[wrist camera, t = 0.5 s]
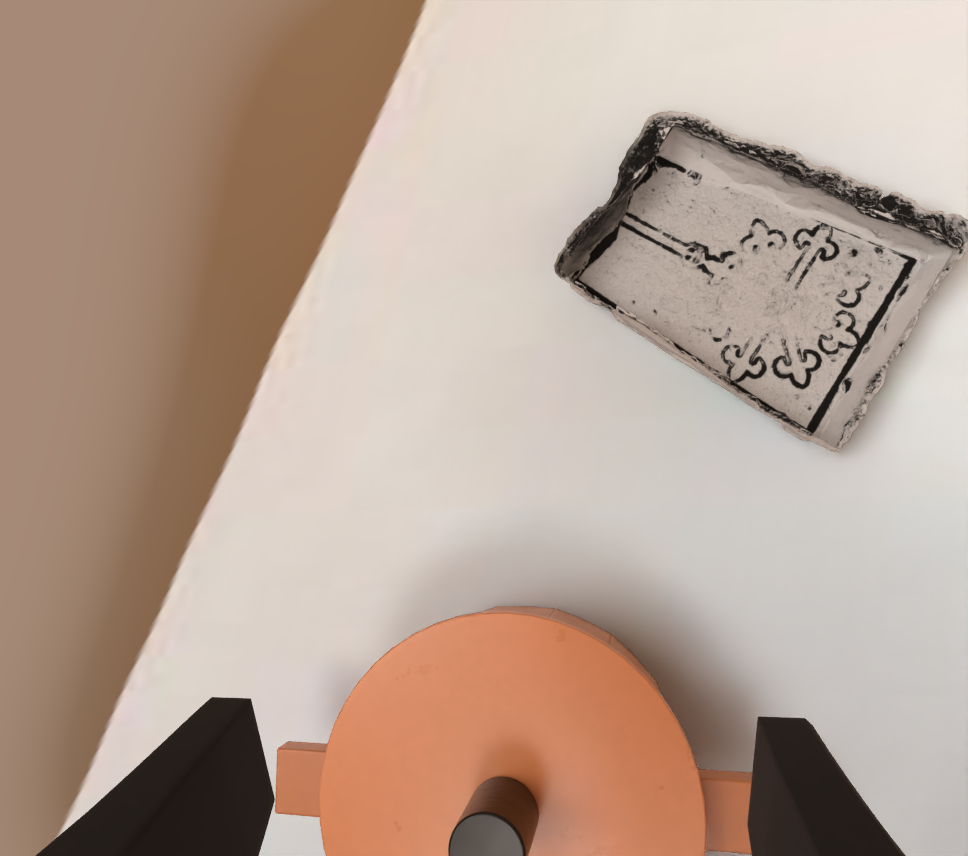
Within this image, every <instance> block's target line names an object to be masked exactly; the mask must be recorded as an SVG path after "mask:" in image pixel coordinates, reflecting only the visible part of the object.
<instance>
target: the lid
mask: <svg viewBox="0 0 968 856" xmlns="http://www.w3.org/2000/svg"><path fill="white" fill-rule="evenodd" d="M319 806H320V826H321V832H322V839H323V845H324V850H325V854H326V856H705V847H706V815H705V802H704V796H703V791H702V786H701V781H700V777H699V772H698V768H697V765H696V762H695V759H694V756H693V753H692V751H691V748H690V745H689V742H688V740H687V738H686V736H685V734H684V732H683V730H682V728H681V726H680V724H679V722H678V720H677V718H676V716H675V714H674V713H673V711H672V710H671V708H670V707H669V705H668V704H667V702H666V701H665V699H664V698H663V696H662V695H661V693H660V692H659V691H658V690H657V689H656V688H655V686H654V685H653V684H652V683H651V682H650V680H649V679H648V678H647V677H646V676H645V675H644V673H642V672H641V671H640V670H639V669H638V668H637V667H636V666H635V665H634V664H633V663H632V662H631V661H629V660H628V659H627V658H626V657H625V656H624V655H622V654H621V653H620V652H618V651H617V650H615V649H614V648H613V647H611V646H610V645H608V644H607V643H606V642H604V641H603V640H601V639H599V638H597V637H595V636H594V635H592V634H590V633H588V632H586V631H584V630H582V629H581V628H578V627H575V626H573V625H570V624H568V623H565V622H562V621H560V620H557V619H553V618H549V617H545V616H541V615H537V614H532V613H523V612H513V611H489V612H478V613H473V614H467V615H461V616H457V617H454V618H451V619H448V620H444V621H441V622H438V623H436V624H433V625H431V626H429V627H427V628H425V629H423V630H421V631H419V632H417V633H415V634H413V635H411V636H410V637H408V638H407V639H405V640H404V641H402V642H401V643H399V644H398V645H396V646H395V647H393V648H392V649H391V650H390V651H388V652H387V653H386V654H385V655H384V656H383V657H382V658H380V659H379V660H378V661H377V662H376V663H375V664H374V665H373V666H372V667H371V668H370V669H369V671H368V672H367V673H366V674H365V675H364V676H363V677H362V679H361V680H360V681H359V682H358V684H357V685H356V687H355V688H354V690H353V691H352V693H351V694H350V696H349V697H348V699H347V700H346V702H345V704H344V706H343V708H342V710H341V712H340V714H339V716H338V718H337V720H336V722H335V724H334V727H333V730H332V733H331V735H330V738H329V741H328V744H327V747H326V752H325V757H324V761H323V766H322V771H321V781H320V793H319Z"/></svg>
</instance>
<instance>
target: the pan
mask: <svg viewBox="0 0 968 856" xmlns="http://www.w3.org/2000/svg"><path fill="white" fill-rule="evenodd" d="M489 611H513V612H523V613H532V614H537V615H541V616H545V617H549V618H553V619H557V620H560V621H562V622H565V623H568V624H570V625H573V626H575V627H578V628H581V629H582V630H584V631H586V632H588V633H590V634H592V635H594V636H595V637H597V638H599V639H601V640H603V641H604V642H606V643H607V644H608V645H610V646H611V647H613V648H614V649H615V650H617V651H618V652H620V653H621V654H622V655H624V656H625V657H626V658H627V659H628V660H629V661H631V662H632V663H633V664H634V665H635V666H636V667H637V668H638V669H639V670H640V671H641V672H642V673H644V675H645V676H646V677H647V678H648V679H649V680H650V682H651V683H652V684H653V685H654V686H655V688H656V689H657V690H658V691H659V692H660V693H661V691H660V689H659V687H658V684H657V682H656V681H655V679H654V678H653V677H652V676H651V675H650V674H649V673H648V672H647V670H646V669H645V668H644V667H643V666H642V665H641V663H640V662H639V661H638V660H637V659H636V657H635V656H634V655H633V654H632V653H631V652H630V651H629V650H627V649H626V648H625V647H624V646H623V645H622V644H621V643H620V642H619V641H618V640H617V639H616V638H615V637H614V636H612V635H611V634H610V633H608V632H606V631H603V630H602V629H600V628H598V627H596V626H595V625H593V624H591V623H589V622H587V621H585V620H583V619H581V618H578V617H575V616H573V615H570V614H567V613H564V612H562V611H560V610H557V609H556V610H555V609H554V608H539V607H529V606H520V607H494V608H491V609H489V610H486V611H484V612H489ZM661 695H662V694H661ZM326 747H327V744H321V743H306V742H292V741H288V742H286V743H285V744H283V745H282V746H280V747H279V748H278V750H277V775H276V805H275V812H276V813H278V814H289V815H301V816H313V817H320V806H319V793H320V781H321V771H322V766H323V761H324V757H325V752H326ZM698 772H699V777H700V781H701V786H702V791H703V796H704V802H705V815H706V847H705V850H709V851H720V852H732V853H744V854H752V853H751V846H750V839H749V832H748V825H747V823H748V812H749V802H750V792H751V782H752V773H746V772H731V771H717V770H702V769H698Z"/></svg>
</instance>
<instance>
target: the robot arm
mask: <svg viewBox="0 0 968 856" xmlns="http://www.w3.org/2000/svg"><path fill="white" fill-rule="evenodd" d="M274 800H275V799H274V794H273V790H272V786H271V782H270V777H269V773H268V769H267V765H266V761H265V756H264V752H263V748H262V744H261V740H260V735H259V731H258V727H257V723H256V719H255V714H254V710H253V706H252V702H251V699H246V698H217V697H212V698H211V699H209V700H208V701H207V702H206V703H205V704H204V705H203V706H202V707H200V708H199V709H198V710H197V711H196V712H195V713H194V714H193V715H192V716H191V717H190V718H189V719H188V720H186V721H185V722H184V723H183V724H182V725H181V726H180V727H179V728H178V729H177V730H176V731H175V732H174V733H173V734H172V735H170V736H169V737H168V738H167V739H166V740H165V741H164V742H163V743H162V744H161V745H160V746H159V747H158V748H157V749H156V750H154V751H153V752H152V753H151V754H150V755H149V756H148V757H147V758H146V759H145V760H144V761H143V762H142V763H141V764H140V765H138V766H137V767H136V768H135V769H134V770H133V771H132V772H131V773H130V774H129V775H128V776H126V777H125V778H124V779H123V780H122V781H121V782H120V783H119V784H118V785H117V786H116V787H114V788H113V789H112V790H111V791H110V792H109V793H108V794H107V795H106V796H105V797H103V798H102V799H101V800H100V801H99V802H98V803H97V804H96V805H95V806H94V807H92V808H91V809H90V810H89V811H88V812H87V813H86V814H84V815H83V816H82V817H81V818H80V819H79V820H77V821H76V822H75V823H74V824H73V825H71V826H70V827H69V828H68V829H67V830H66V831H64V832H63V833H62V834H61V835H60V836H58V837H57V838H56V839H55V840H54V841H53V842H51V844H49V845H48V846H47V847H45V848H44V849H43V850H42V851H41V852H40V853H38V854H37V855H36V856H258V855H259V852H260V849H261V845H262V842H263V839H264V836H265V832H266V828H267V825H268V821H269V818H270V814H271V811H272V807H273V804H274ZM747 825H748V832H749V839H750V846H751V853H752V856H905V855H904V853H903V852H902V851H901V850H900V848H899V847H898V846H897V844H896V843H895V842H894V841H893V839H892V838H891V837H890V835H889V834H888V833H887V832H886V830H885V829H884V828H883V826H882V825H881V824H880V822H879V821H878V820H877V818H876V817H875V815H874V814H873V813H872V811H871V810H870V809H869V807H868V806H867V805H866V803H865V802H864V800H863V799H862V798H861V796H860V795H859V793H858V792H857V791H856V789H855V788H854V786H853V785H852V784H851V782H850V781H849V779H848V778H847V776H846V775H845V774H844V772H843V771H842V769H841V768H840V766H839V765H838V763H837V762H836V760H835V759H834V758H833V756H832V755H831V753H830V752H829V750H828V749H827V747H826V745H825V744H824V742H823V741H822V739H821V738H820V736H819V735H818V733H817V732H816V730H815V729H814V727H813V725H811V724H810V723H809V722H808V721H807V720H806V719H805V718H781V717H758V721H757V731H756V741H755V751H754V762H753V772H752V782H751V792H750V802H749V812H748V823H747Z"/></svg>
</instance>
